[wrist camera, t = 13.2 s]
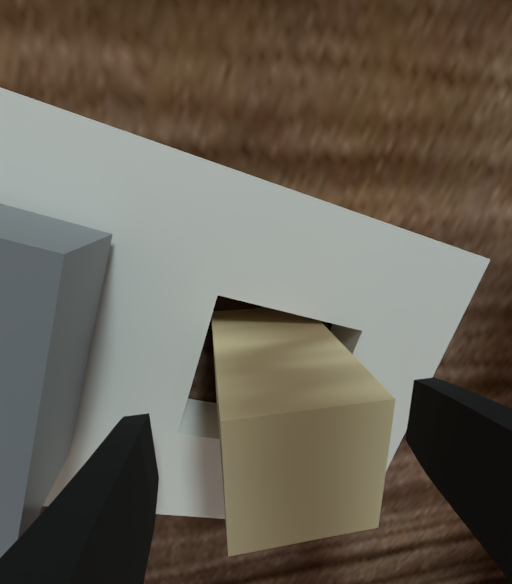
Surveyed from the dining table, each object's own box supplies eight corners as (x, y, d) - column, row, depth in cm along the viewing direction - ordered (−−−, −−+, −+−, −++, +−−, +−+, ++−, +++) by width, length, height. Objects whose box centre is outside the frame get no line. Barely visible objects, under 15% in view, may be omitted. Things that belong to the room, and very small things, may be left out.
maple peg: (304, 304, 12) (395, 399, 6) (301, 385, 13) (378, 527, 7) (211, 311, 12) (220, 421, 6) (216, 394, 13) (228, 556, 7)
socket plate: (446, 250, 12) (490, 259, 10) (338, 486, 15) (357, 527, 13) (-106, 59, 8) (-200, 17, 6) (-117, 439, 11) (-184, 490, 9)
